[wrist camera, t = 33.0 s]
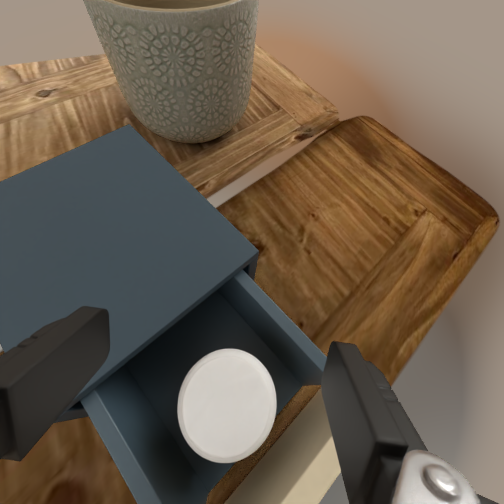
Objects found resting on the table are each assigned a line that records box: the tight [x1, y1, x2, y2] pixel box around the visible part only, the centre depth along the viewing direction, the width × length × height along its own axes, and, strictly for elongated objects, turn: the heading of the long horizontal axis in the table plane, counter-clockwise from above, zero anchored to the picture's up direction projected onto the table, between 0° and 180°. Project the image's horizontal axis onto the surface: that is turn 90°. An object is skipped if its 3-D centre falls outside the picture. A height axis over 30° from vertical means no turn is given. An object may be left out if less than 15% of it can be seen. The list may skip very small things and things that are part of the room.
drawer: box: [80, 269, 341, 504], centre depth 17 cm, size 20×12×9 cm, turn 43°
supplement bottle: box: [177, 349, 277, 463], centre depth 16 cm, size 5×5×10 cm
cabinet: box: [0, 124, 259, 423], centre depth 21 cm, size 16×14×11 cm
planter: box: [83, 0, 259, 143], centre depth 31 cm, size 17×17×15 cm
